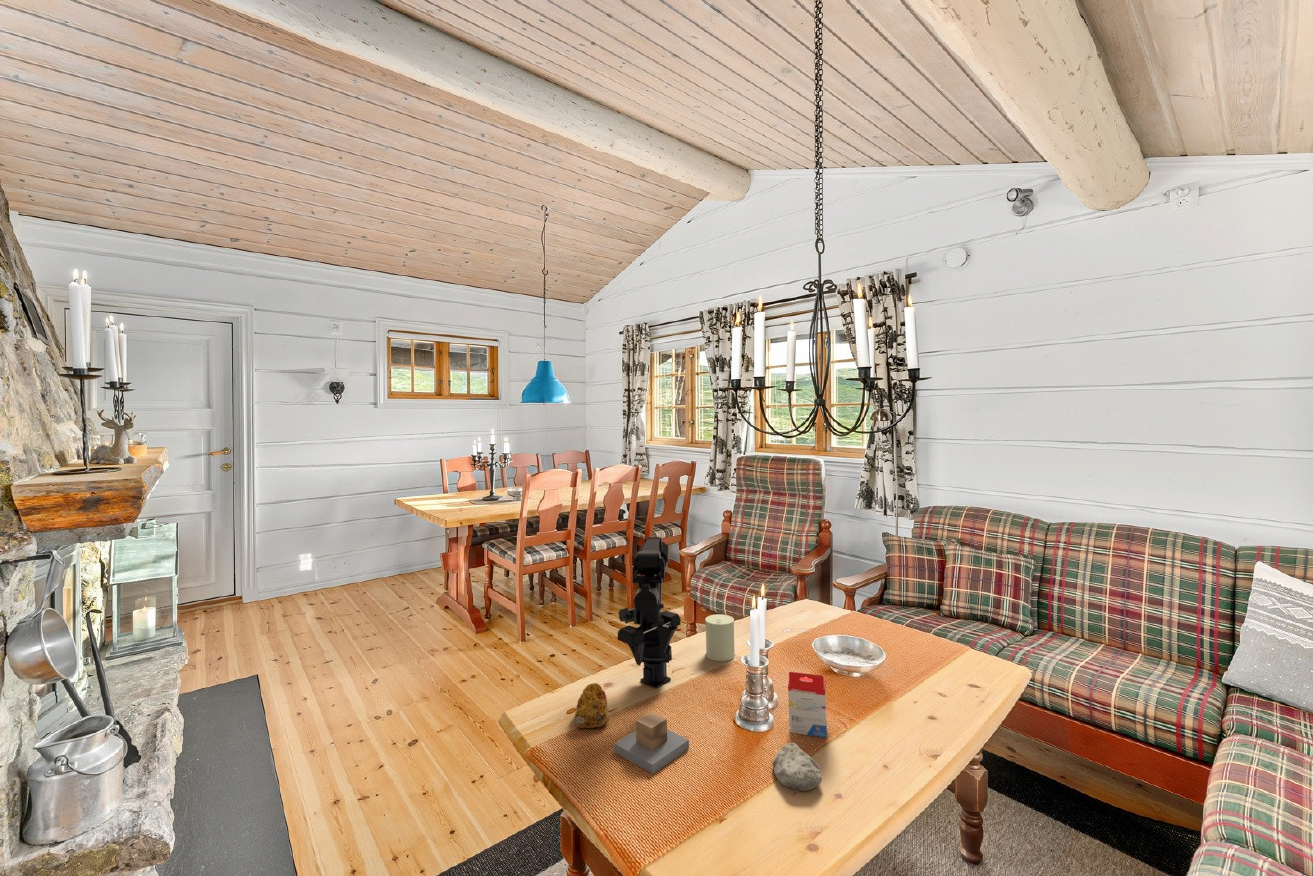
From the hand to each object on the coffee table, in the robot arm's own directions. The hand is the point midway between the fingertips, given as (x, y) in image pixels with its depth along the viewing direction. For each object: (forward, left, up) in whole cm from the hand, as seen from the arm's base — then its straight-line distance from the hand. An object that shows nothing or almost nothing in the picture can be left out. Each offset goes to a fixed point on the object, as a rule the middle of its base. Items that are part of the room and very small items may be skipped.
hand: (650, 659), depth 145 cm
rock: (+15, -7, -12) cm, 21 cm away
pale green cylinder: (-36, -4, -12) cm, 38 cm away
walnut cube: (+15, +14, -10) cm, 23 cm away
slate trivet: (+15, +14, -12) cm, 24 cm away
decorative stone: (+2, +43, -12) cm, 45 cm away
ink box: (-15, +37, -12) cm, 42 cm away
